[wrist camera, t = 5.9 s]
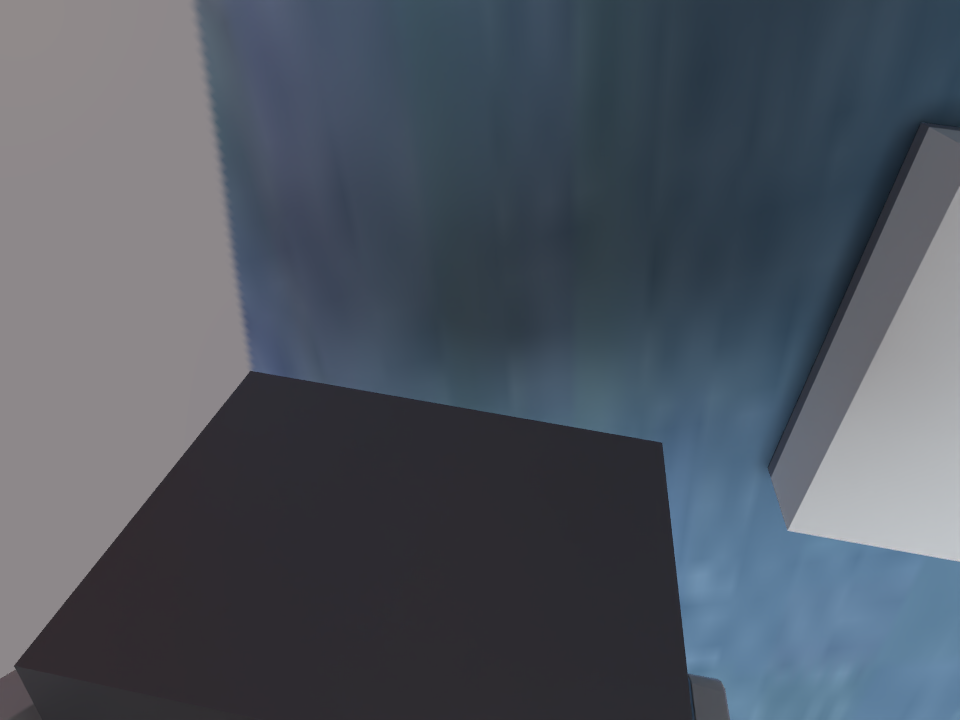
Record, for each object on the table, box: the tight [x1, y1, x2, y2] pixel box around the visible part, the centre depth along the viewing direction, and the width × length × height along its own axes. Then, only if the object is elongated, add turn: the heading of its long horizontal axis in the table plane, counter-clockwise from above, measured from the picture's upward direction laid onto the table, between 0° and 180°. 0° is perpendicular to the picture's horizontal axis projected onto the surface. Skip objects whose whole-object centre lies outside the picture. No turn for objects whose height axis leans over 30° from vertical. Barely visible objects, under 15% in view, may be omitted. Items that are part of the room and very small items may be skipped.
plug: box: [14, 371, 693, 720], centre depth 12 cm, size 10×6×7 cm
